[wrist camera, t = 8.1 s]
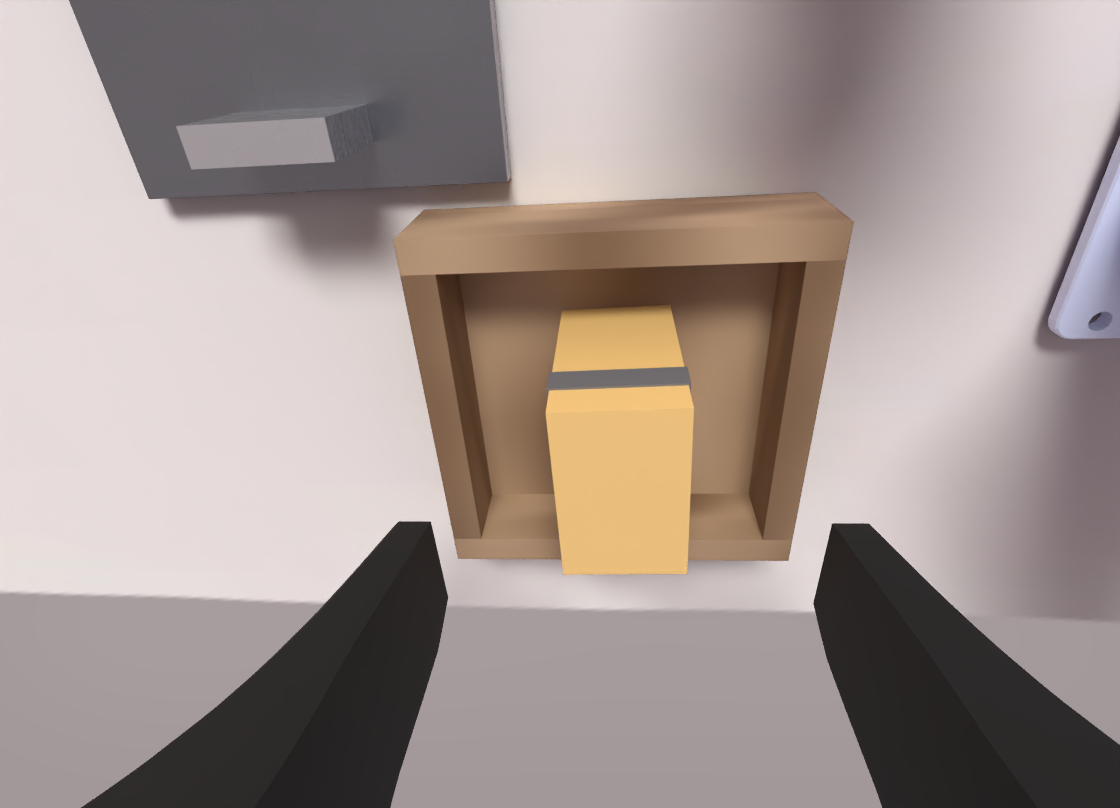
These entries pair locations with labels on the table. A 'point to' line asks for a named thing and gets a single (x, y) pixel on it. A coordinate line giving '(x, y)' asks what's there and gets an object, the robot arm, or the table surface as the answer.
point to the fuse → (621, 441)
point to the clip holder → (302, 92)
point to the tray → (613, 282)
